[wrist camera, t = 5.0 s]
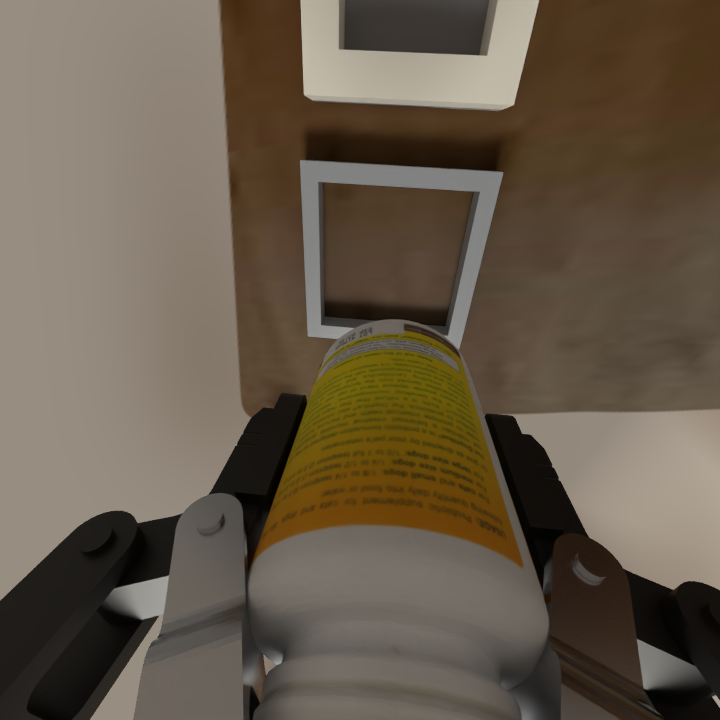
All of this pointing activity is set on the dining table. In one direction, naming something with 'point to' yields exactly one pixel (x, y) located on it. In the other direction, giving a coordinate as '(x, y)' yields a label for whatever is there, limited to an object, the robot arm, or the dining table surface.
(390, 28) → the holder
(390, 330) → the supplement bottle
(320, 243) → the tray
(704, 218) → the dining table surface
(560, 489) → the robot arm
